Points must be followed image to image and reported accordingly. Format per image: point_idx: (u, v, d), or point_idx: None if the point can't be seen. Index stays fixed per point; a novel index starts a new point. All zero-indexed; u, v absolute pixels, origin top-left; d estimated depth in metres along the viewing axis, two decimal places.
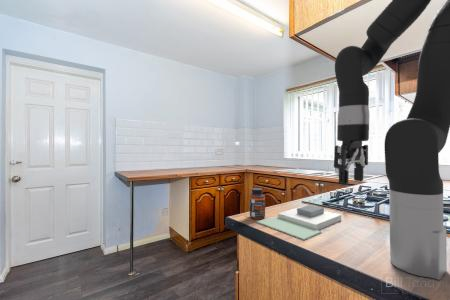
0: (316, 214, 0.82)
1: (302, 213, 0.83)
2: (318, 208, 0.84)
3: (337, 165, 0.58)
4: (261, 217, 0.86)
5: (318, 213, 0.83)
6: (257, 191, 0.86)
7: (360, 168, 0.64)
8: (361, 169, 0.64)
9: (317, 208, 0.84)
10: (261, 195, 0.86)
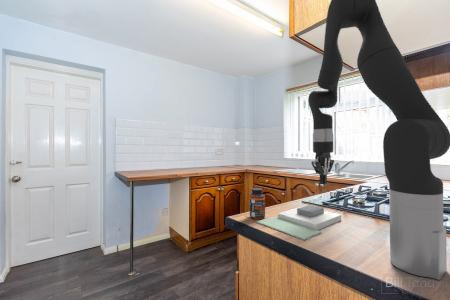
0: (316, 214, 0.82)
1: (302, 213, 0.83)
2: (318, 208, 0.84)
3: (318, 171, 0.89)
4: (261, 217, 0.86)
5: (318, 213, 0.83)
6: (257, 191, 0.86)
7: None
8: None
9: (317, 208, 0.84)
10: (261, 195, 0.86)
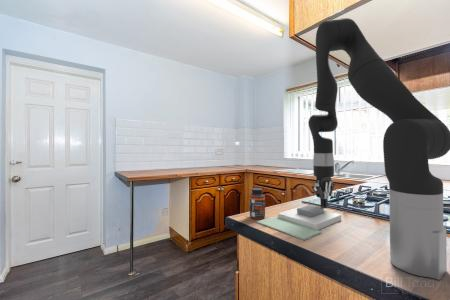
0: (316, 214, 0.82)
1: (302, 213, 0.83)
2: (318, 208, 0.84)
3: (318, 195, 0.89)
4: (261, 217, 0.86)
5: (318, 213, 0.83)
6: (257, 191, 0.86)
7: None
8: (326, 199, 0.90)
9: (317, 208, 0.84)
10: (261, 195, 0.86)
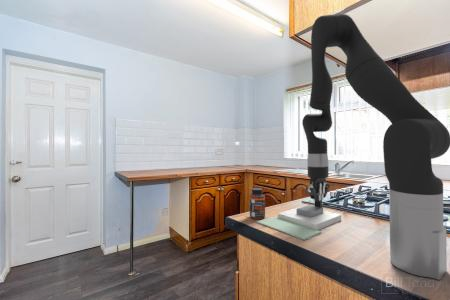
0: (315, 214, 0.82)
1: (301, 213, 0.83)
2: (317, 208, 0.84)
3: (312, 197, 0.86)
4: (261, 217, 0.86)
5: (317, 213, 0.83)
6: (257, 191, 0.86)
7: None
8: (320, 201, 0.87)
9: (316, 208, 0.84)
10: (261, 195, 0.86)
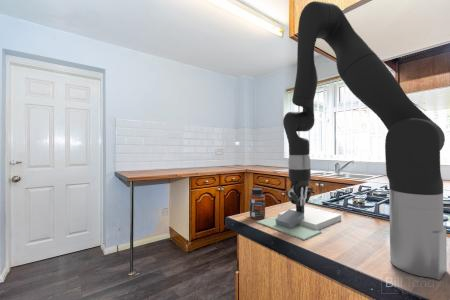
0: (295, 223, 0.76)
1: (281, 224, 0.77)
2: (297, 215, 0.78)
3: (293, 202, 0.80)
4: (261, 217, 0.86)
5: (298, 221, 0.76)
6: (257, 191, 0.86)
7: None
8: (302, 206, 0.81)
9: (296, 215, 0.78)
10: (261, 195, 0.86)
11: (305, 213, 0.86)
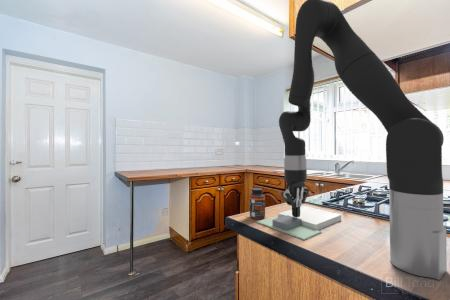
0: (292, 226, 0.75)
1: (277, 225, 0.76)
2: (295, 219, 0.77)
3: (289, 203, 0.78)
4: (261, 217, 0.86)
5: (295, 225, 0.76)
6: (257, 191, 0.86)
7: None
8: None
9: (294, 219, 0.77)
10: (261, 195, 0.86)
11: (305, 213, 0.86)
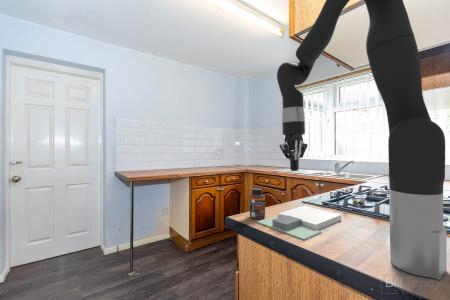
0: (292, 226, 0.75)
1: (277, 225, 0.76)
2: (295, 219, 0.77)
3: (287, 156, 0.78)
4: (261, 217, 0.86)
5: (295, 225, 0.76)
6: (257, 191, 0.86)
7: None
8: None
9: (294, 219, 0.77)
10: (261, 195, 0.86)
11: (305, 213, 0.86)
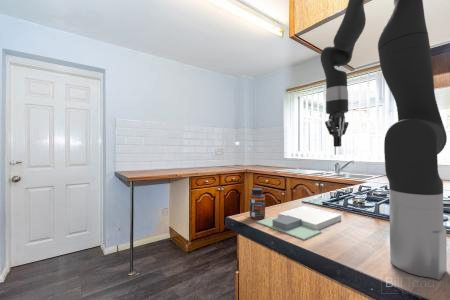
0: (292, 226, 0.75)
1: (277, 225, 0.76)
2: (295, 219, 0.77)
3: (332, 132, 0.83)
4: (261, 217, 0.86)
5: (295, 225, 0.76)
6: (257, 191, 0.86)
7: None
8: (339, 137, 0.84)
9: (294, 219, 0.77)
10: (261, 195, 0.86)
11: (305, 213, 0.86)
